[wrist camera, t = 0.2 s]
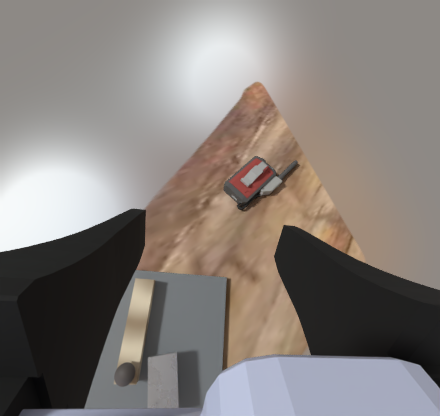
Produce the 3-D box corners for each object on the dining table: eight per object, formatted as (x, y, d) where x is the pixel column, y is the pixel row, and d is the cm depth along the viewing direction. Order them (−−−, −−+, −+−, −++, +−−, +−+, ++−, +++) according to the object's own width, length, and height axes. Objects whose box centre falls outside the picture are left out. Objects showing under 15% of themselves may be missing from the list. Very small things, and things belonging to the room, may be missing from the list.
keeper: (151, 408, 31) (147, 421, 28) (151, 351, 34) (148, 357, 30) (179, 402, 32) (178, 414, 29) (177, 347, 34) (176, 352, 31)
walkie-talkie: (246, 219, 46) (297, 167, 54) (251, 211, 42) (306, 156, 50) (217, 192, 48) (270, 145, 55) (219, 182, 44) (277, 133, 51)
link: (138, 379, 32) (133, 388, 29) (117, 379, 32) (110, 388, 28) (155, 280, 37) (152, 279, 34) (138, 279, 37) (133, 277, 34)
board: (219, 407, 33) (220, 410, 32) (81, 405, 31) (78, 408, 30) (225, 277, 41) (226, 277, 40) (115, 269, 38) (113, 268, 37)
